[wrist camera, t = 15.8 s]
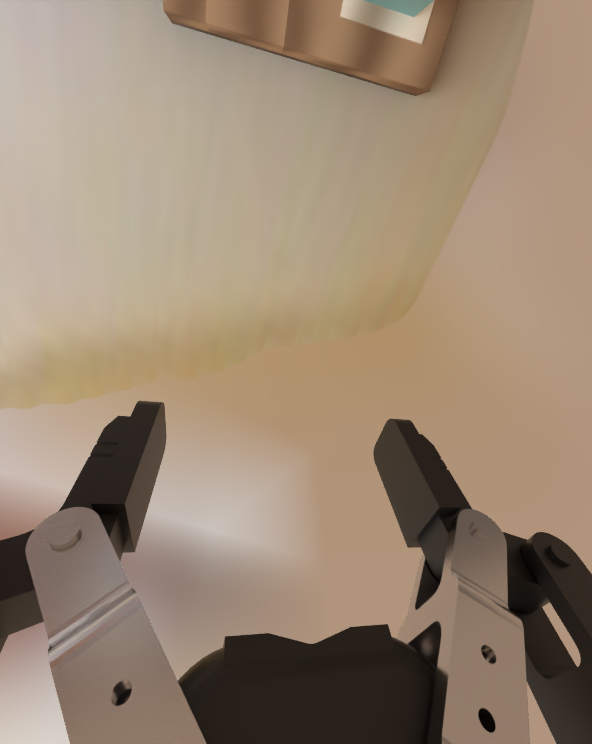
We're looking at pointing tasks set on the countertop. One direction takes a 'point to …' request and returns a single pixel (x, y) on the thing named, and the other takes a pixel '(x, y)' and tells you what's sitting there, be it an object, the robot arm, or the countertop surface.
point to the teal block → (403, 5)
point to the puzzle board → (332, 35)
